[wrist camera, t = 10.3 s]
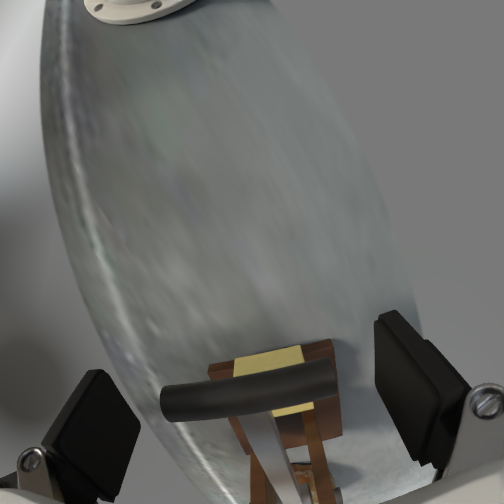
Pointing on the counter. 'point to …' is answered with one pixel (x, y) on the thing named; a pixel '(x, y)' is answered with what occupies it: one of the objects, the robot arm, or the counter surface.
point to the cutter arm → (257, 412)
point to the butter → (269, 363)
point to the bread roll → (307, 478)
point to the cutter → (295, 433)
